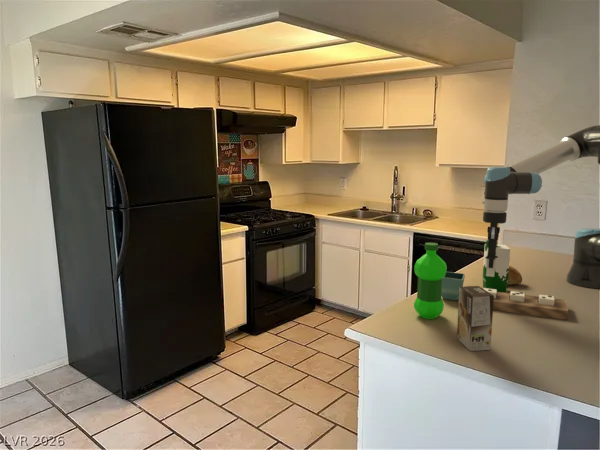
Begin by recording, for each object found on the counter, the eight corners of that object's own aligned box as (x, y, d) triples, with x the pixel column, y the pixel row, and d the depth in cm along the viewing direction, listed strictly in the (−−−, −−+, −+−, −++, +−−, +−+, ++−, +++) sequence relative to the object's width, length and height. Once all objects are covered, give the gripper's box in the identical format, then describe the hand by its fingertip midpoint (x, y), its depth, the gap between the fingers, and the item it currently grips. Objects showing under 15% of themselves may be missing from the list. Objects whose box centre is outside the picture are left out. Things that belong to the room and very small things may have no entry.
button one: (496, 298, 159) (496, 288, 159) (495, 302, 155) (496, 292, 155) (483, 296, 161) (483, 287, 161) (482, 300, 157) (482, 290, 157)
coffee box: (491, 350, 122) (495, 295, 119) (469, 351, 121) (473, 296, 119) (475, 336, 131) (479, 285, 128) (455, 337, 130) (458, 286, 128)
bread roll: (520, 288, 175) (522, 269, 174) (481, 283, 183) (482, 265, 181) (522, 282, 183) (524, 264, 182) (484, 277, 191) (485, 260, 189)
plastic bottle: (434, 309, 153) (437, 240, 149) (450, 320, 143) (454, 246, 139) (407, 311, 151) (410, 241, 147) (422, 323, 141) (425, 248, 137)
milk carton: (480, 286, 179) (483, 238, 175) (503, 287, 177) (507, 239, 173) (484, 293, 170) (487, 243, 167) (509, 294, 168) (513, 243, 165)
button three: (523, 302, 155) (524, 292, 155) (523, 306, 152) (524, 295, 151) (509, 300, 157) (510, 290, 157) (509, 304, 153) (510, 294, 153)
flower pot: (463, 295, 167) (465, 273, 166) (461, 303, 159) (463, 279, 158) (440, 293, 171) (441, 270, 169) (437, 300, 163) (438, 276, 162)
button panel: (563, 307, 154) (564, 299, 153) (567, 319, 143) (568, 311, 142) (472, 296, 166) (473, 288, 166) (469, 306, 156) (470, 298, 155)
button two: (552, 305, 152) (553, 295, 151) (553, 309, 148) (554, 299, 147) (538, 303, 153) (539, 293, 153) (538, 307, 150) (539, 297, 149)
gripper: (484, 208, 160) (480, 270, 164) (482, 212, 149) (477, 279, 153) (507, 209, 157) (501, 272, 161) (506, 214, 145) (501, 282, 149)
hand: (490, 275), depth 157 cm, fingers closed
